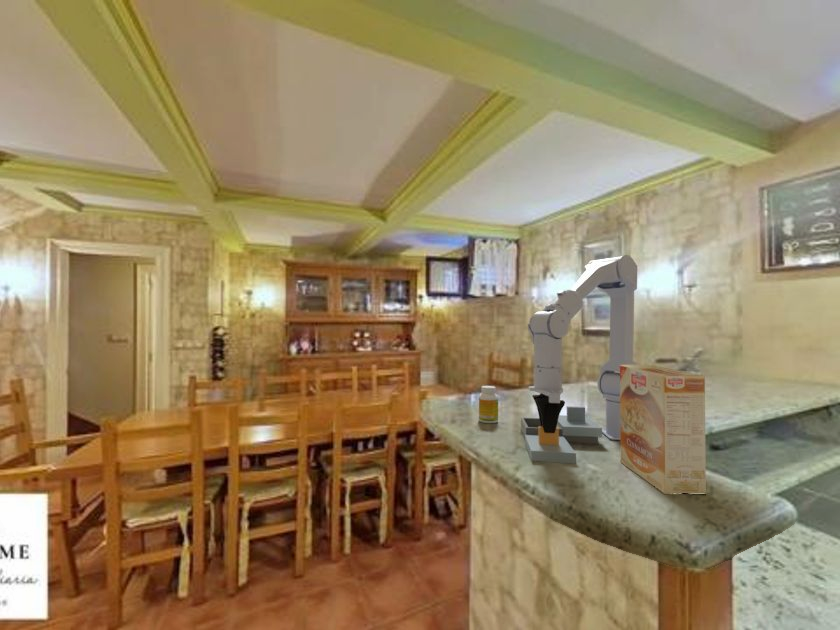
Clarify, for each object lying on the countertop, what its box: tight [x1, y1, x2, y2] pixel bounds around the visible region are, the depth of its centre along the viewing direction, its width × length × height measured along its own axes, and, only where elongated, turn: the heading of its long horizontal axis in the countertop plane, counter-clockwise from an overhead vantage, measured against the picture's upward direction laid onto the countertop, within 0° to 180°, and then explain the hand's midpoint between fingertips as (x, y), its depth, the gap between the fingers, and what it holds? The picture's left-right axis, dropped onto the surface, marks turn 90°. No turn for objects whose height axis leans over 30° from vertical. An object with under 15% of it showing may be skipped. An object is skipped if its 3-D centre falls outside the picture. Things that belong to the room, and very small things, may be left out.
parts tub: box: [520, 417, 599, 446], centre depth 95 cm, size 16×10×3 cm, turn 82°
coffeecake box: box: [619, 364, 707, 495], centre depth 70 cm, size 15×7×20 cm, turn 178°
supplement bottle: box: [478, 385, 499, 424], centre depth 110 cm, size 5×5×10 cm
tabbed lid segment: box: [524, 426, 577, 464], centre depth 83 cm, size 9×11×5 cm
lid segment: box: [557, 405, 603, 438], centre depth 94 cm, size 9×11×5 cm
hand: (547, 430), depth 83 cm, fingers open, 3 cm apart
